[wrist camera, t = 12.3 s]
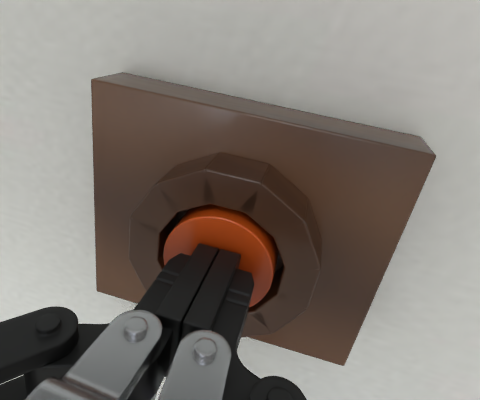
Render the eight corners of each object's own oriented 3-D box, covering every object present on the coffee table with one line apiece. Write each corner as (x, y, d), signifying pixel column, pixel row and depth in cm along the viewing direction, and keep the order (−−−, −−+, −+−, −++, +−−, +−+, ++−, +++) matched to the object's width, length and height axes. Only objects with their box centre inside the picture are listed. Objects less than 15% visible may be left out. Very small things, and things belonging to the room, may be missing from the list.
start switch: (121, 71, 15) (56, 85, 11) (422, 136, 13) (454, 176, 10) (119, 265, 19) (72, 317, 16) (342, 330, 18) (345, 404, 14)
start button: (185, 183, 14) (166, 203, 12) (290, 210, 13) (284, 234, 11) (176, 267, 15) (159, 294, 14) (268, 294, 15) (260, 325, 13)
